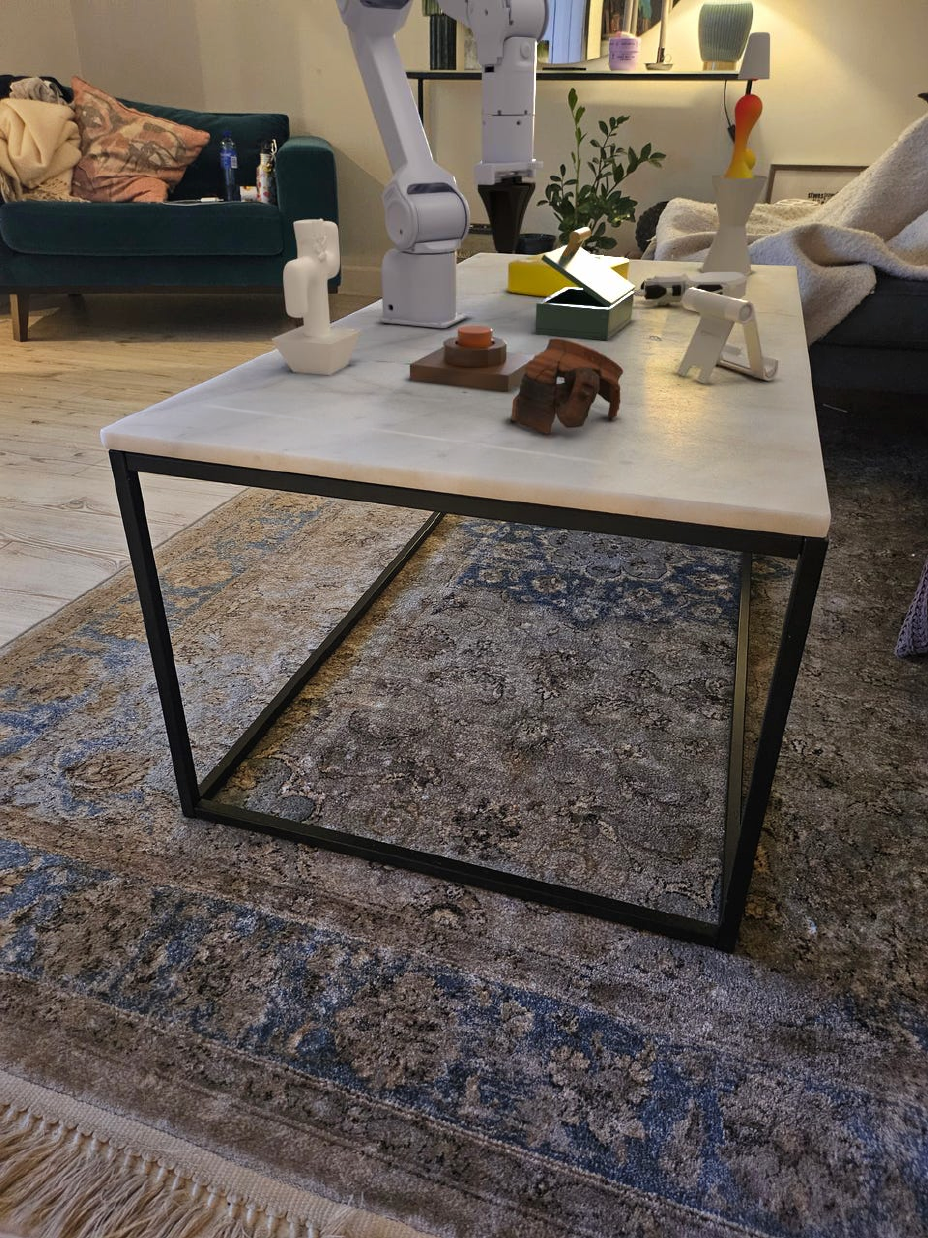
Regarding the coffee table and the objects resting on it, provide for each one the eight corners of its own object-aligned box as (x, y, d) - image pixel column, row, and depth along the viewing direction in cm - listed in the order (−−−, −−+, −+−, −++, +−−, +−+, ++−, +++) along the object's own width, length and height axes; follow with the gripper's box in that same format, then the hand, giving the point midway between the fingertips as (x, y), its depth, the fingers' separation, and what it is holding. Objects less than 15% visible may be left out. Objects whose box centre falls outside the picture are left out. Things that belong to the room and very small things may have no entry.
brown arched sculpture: (492, 415, 83) (528, 332, 82) (577, 455, 86) (613, 376, 84) (527, 421, 72) (569, 324, 70) (624, 467, 74) (666, 375, 73)
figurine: (269, 376, 93) (252, 222, 86) (311, 355, 101) (299, 212, 93) (330, 382, 91) (318, 225, 84) (368, 361, 99) (361, 215, 91)
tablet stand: (775, 380, 93) (791, 297, 88) (717, 389, 90) (730, 303, 85) (721, 361, 99) (732, 283, 95) (665, 369, 96) (674, 289, 92)
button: (452, 348, 91) (452, 331, 90) (465, 341, 94) (465, 324, 93) (484, 351, 90) (484, 334, 89) (496, 344, 93) (497, 327, 92)
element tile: (631, 287, 140) (634, 255, 138) (590, 302, 129) (593, 267, 127) (547, 278, 147) (549, 247, 144) (502, 292, 136) (503, 259, 134)
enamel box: (534, 333, 111) (536, 303, 109) (564, 315, 121) (565, 286, 119) (607, 340, 108) (609, 309, 106) (631, 321, 118) (634, 292, 116)
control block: (409, 380, 92) (408, 346, 90) (444, 360, 99) (444, 328, 97) (507, 392, 88) (508, 357, 87) (536, 371, 95) (538, 338, 94)
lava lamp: (743, 277, 149) (781, 29, 131) (692, 272, 153) (722, 31, 136) (759, 270, 155) (797, 33, 138) (709, 265, 160) (740, 35, 142)
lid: (540, 259, 107) (558, 228, 104) (570, 246, 117) (587, 218, 114) (608, 308, 106) (627, 278, 104) (632, 291, 116) (650, 263, 114)
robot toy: (629, 315, 125) (737, 316, 120) (629, 281, 123) (740, 280, 117) (649, 300, 135) (750, 300, 129) (650, 268, 133) (753, 267, 127)
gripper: (519, 115, 88) (516, 260, 95) (563, 115, 100) (557, 244, 106) (455, 115, 91) (456, 257, 97) (505, 115, 102) (503, 242, 109)
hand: (505, 250), depth 102 cm, fingers closed
